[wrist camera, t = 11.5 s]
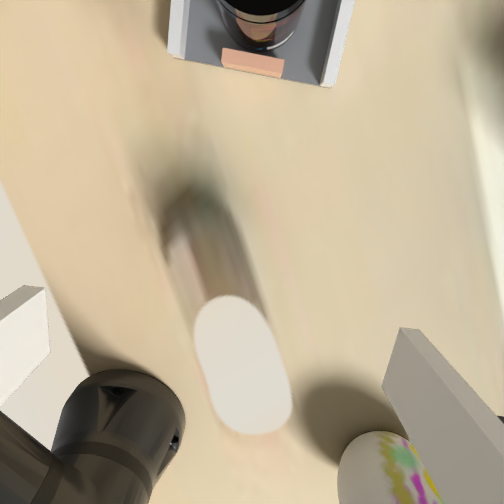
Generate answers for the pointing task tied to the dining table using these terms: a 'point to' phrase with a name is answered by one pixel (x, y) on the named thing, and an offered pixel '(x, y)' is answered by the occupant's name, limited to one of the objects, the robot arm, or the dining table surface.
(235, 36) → the supplement container
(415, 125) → the dining table surface
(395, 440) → the decorative egg
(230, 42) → the pusher lane
